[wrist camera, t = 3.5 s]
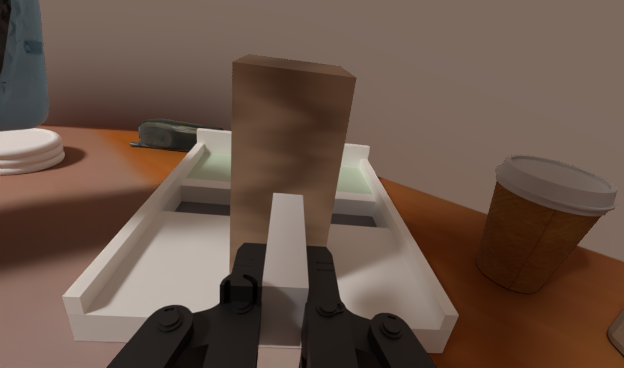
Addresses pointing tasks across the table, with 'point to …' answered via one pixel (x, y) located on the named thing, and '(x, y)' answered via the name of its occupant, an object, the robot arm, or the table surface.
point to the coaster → (29, 151)
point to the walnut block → (285, 143)
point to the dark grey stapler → (169, 134)
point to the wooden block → (617, 332)
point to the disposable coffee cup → (538, 219)
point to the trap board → (216, 253)
